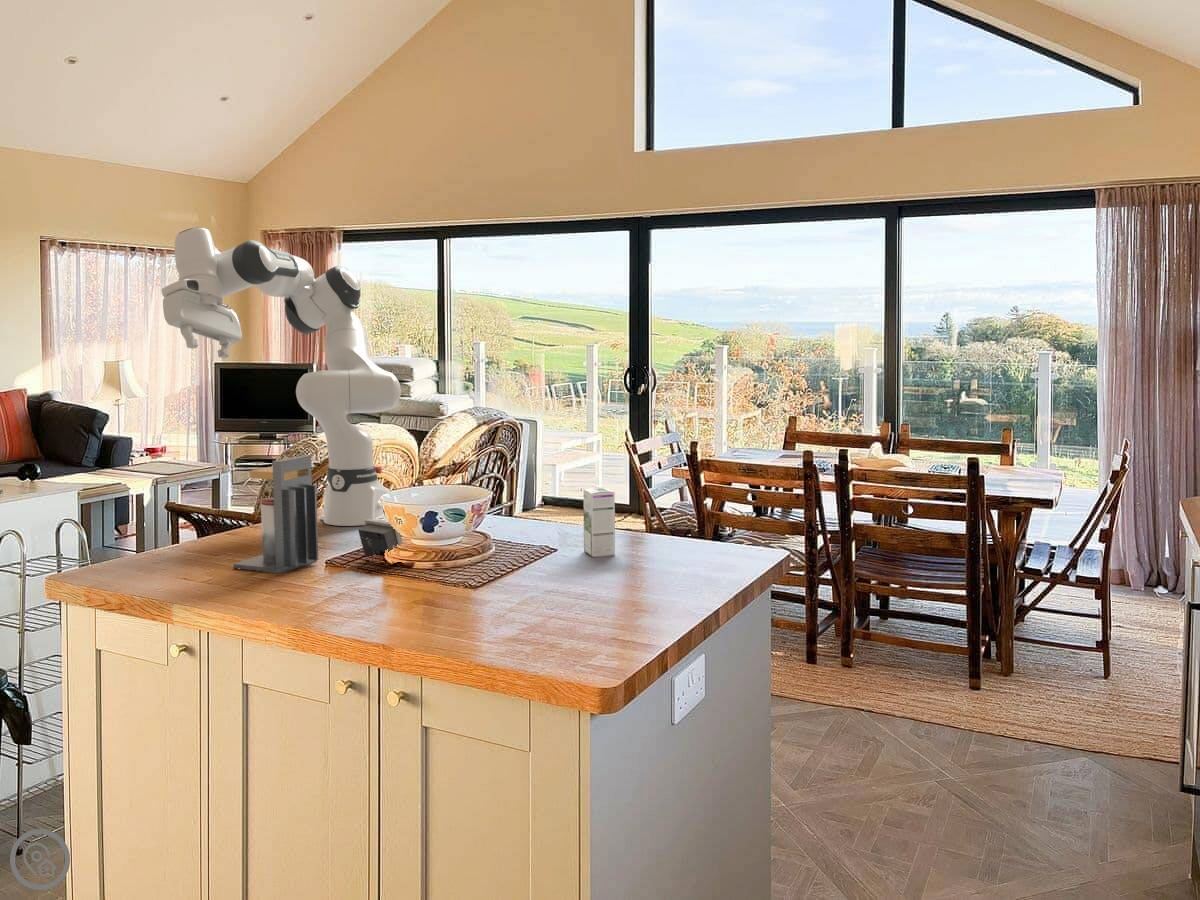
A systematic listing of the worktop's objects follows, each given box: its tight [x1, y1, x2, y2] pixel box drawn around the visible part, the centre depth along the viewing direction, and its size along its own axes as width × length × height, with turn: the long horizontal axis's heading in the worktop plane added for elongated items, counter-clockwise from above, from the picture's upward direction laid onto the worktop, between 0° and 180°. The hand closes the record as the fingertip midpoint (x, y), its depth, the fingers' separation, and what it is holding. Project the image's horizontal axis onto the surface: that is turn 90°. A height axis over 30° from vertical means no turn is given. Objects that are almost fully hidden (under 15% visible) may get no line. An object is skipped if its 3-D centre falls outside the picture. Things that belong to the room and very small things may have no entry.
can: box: [259, 497, 276, 563], centre depth 213 cm, size 5×5×13 cm
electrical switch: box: [357, 519, 403, 558], centre depth 216 cm, size 9×5×9 cm, turn 57°
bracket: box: [233, 454, 319, 575], centre depth 212 cm, size 12×14×23 cm
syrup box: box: [583, 487, 616, 558], centre depth 225 cm, size 6×6×14 cm
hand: (208, 352), depth 223 cm, fingers open, 8 cm apart
